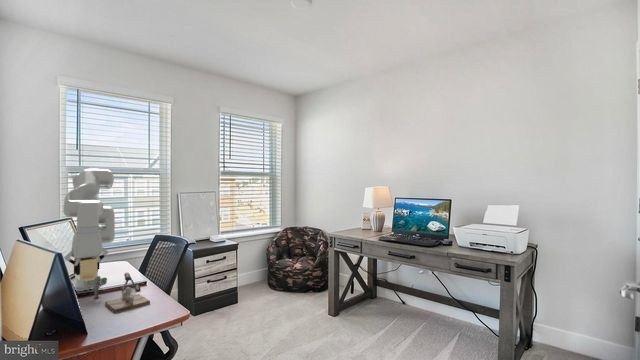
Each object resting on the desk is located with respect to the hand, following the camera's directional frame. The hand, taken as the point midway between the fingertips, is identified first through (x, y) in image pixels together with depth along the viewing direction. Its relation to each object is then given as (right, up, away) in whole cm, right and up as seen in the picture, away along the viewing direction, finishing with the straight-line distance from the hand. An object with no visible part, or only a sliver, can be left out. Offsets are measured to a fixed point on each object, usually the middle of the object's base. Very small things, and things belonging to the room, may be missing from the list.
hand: (86, 272), depth 134 cm
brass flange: (0, -2, 0) cm, 2 cm away
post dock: (+12, -17, +9) cm, 23 cm away
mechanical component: (-8, -17, +17) cm, 25 cm away
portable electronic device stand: (+2, -18, +28) cm, 33 cm away
